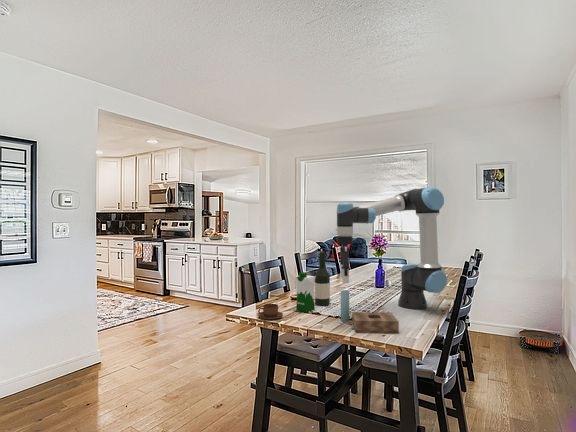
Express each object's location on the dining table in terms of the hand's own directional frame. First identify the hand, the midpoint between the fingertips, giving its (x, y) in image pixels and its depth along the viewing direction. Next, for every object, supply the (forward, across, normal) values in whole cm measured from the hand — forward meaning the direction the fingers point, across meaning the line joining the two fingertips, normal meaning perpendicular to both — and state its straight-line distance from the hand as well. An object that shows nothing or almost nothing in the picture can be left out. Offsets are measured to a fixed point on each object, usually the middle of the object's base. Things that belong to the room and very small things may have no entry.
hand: (344, 280), depth 175 cm
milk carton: (+19, -18, -19) cm, 32 cm away
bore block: (+19, +11, +12) cm, 25 cm away
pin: (+19, 0, 0) cm, 19 cm away
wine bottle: (+19, -31, -10) cm, 38 cm away
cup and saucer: (+20, -3, -35) cm, 41 cm away
